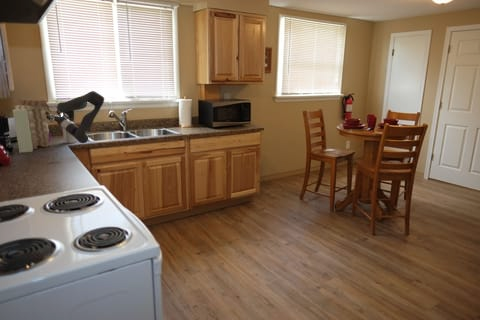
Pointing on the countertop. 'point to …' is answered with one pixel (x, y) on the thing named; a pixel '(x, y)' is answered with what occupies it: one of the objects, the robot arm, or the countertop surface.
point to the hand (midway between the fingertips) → (51, 111)
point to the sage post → (23, 130)
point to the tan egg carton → (36, 125)
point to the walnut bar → (33, 102)
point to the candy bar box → (48, 131)
